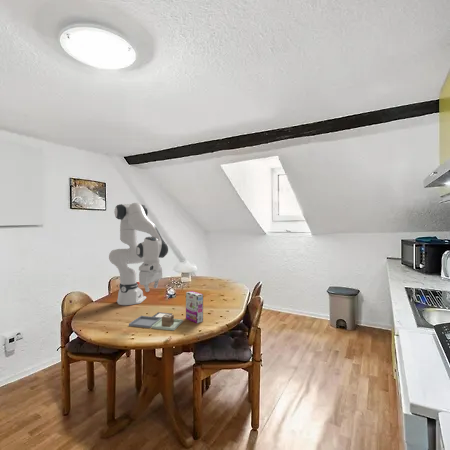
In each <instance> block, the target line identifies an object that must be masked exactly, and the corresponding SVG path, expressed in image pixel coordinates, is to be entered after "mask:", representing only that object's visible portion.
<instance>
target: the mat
mask: <svg viewBox="0 0 450 450" xmlns="http://www.w3.org/2000/svg"><path fill="white" fill-rule="evenodd" d="M165 314H169V315H173V313H170V312H159V311H158V312H157V313H155V314H154V315H151V317H160V318H162V317H163V316H164V315H165Z"/></svg>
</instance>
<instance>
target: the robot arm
mask: <svg viewBox="0 0 450 450" xmlns="http://www.w3.org/2000/svg"><path fill="white" fill-rule="evenodd" d="M148 210H149V209H148V207H147V206H146V205H145V204H141V203H138V202H133V203H131V204H130V203H129V204H128V203H127V204H125V203H124V204H122V203H121V204H117V205H116V206H115V208H114V210H113V211H114V212H113V213H114V216H115V218H116V220H120V225H119V227H120V228H119V240H120V242H121V243H123V244H124V245H125V244H126V245H128V246H129V248H116V249H113V250H111V251H110V252H109V254H108V259H109V262H110V263H111V264H113V265H114V266H115V267H116V268H117V270H118V273H119V290H118V294H117V300H116V303H117V305H120V306H131V305H137V304H138V305H139V304H141V303H142V302H144V301H145V300H146V299H147V296H145V295H144V292H143V290H142V288H140V287H139V285H141V286H143V287H144V290H145V292H146V293H148V292H150V287H149V284H151V283H154V284H153V288H154V289H157V288H158V284H159V281H160V280H161V279H162V278H163V269H162V266H161V263H160V259H162V258H165V257H166V255H168V253H169V247H168V244H167V243H166V241H165V240H164V239H163V236H162V235H161V232H159V229H158V227H157V226H156V224H155V223H154V222H152V221H151V220H150V219H149V218H148V213H149V211H148ZM137 231H139V232H143V233H146V234H148V235H150V236H146V237H145V238H144V239H143V241H142V242H140V243H139V242H138V237H137V236H138V235H137ZM132 264H133V265H134V264H135V265H136V264H141V265H140V266H138V271H139V274H138V281H137V271H136V270H135V269H133V268H131V267H129V266H128V265H132Z"/></svg>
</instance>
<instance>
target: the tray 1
mask: <svg viewBox="0 0 450 450" xmlns="http://www.w3.org/2000/svg"><path fill="white" fill-rule="evenodd" d="M160 319H161V318H160V317H152V316H148V315H140V316H138V317H137V318H135V319H134V320H132V321H130V322H129V323H128V327H136V328H145V329H146V328H147V329H152V325H153V324H155V323H156V322H157V321H159V320H160Z"/></svg>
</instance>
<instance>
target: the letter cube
mask: <svg viewBox="0 0 450 450" xmlns="http://www.w3.org/2000/svg"><path fill="white" fill-rule="evenodd" d="M174 319H175V316H174V314H172V315H169V314H165V315H164V316H163V317H162V326H166V327H171V326H172V325H173V324H174Z"/></svg>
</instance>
